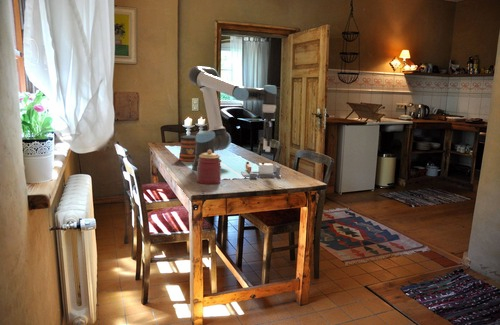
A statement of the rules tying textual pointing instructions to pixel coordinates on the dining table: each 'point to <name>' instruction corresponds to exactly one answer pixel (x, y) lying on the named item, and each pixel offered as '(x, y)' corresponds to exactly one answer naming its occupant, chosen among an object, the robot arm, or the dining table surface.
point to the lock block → (265, 169)
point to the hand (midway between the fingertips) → (266, 150)
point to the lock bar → (248, 167)
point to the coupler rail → (255, 174)
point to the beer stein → (188, 148)
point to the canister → (209, 168)
